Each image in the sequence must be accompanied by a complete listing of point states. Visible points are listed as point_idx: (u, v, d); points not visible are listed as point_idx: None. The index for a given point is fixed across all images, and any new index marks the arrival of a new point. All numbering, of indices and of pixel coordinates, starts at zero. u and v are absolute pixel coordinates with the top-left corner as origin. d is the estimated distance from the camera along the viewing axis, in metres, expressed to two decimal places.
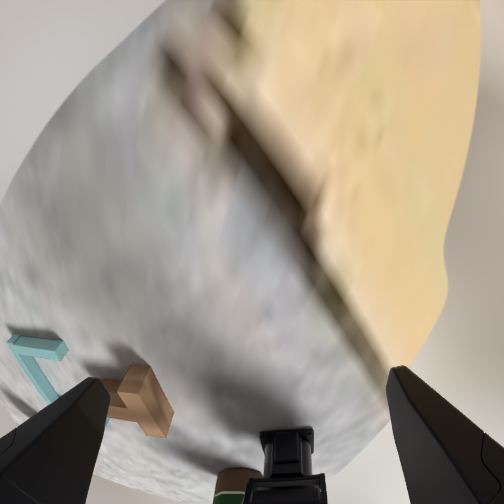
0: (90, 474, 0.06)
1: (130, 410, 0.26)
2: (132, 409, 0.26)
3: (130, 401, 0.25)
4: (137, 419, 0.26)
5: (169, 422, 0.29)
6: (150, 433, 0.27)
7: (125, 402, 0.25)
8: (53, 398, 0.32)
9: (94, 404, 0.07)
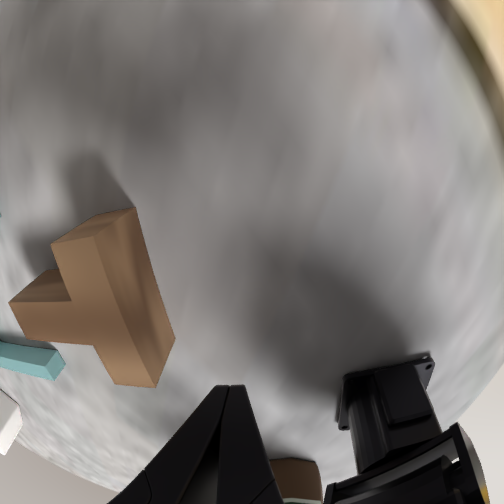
0: None
1: (77, 308, 0.12)
2: (80, 300, 0.11)
3: (76, 272, 0.11)
4: (92, 335, 0.12)
5: (165, 355, 0.15)
6: (122, 376, 0.13)
7: (66, 279, 0.11)
8: None
9: None
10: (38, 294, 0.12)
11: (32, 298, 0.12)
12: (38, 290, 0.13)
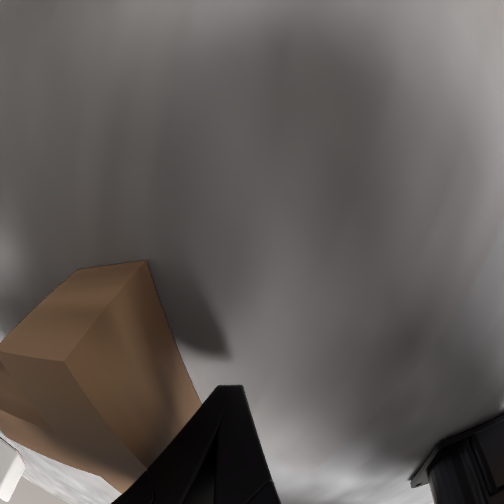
0: None
1: (65, 438, 0.06)
2: (67, 435, 0.05)
3: (49, 403, 0.05)
4: (98, 469, 0.06)
5: None
6: None
7: (36, 406, 0.05)
8: None
9: None
10: (6, 393, 0.06)
11: None
12: (6, 383, 0.07)
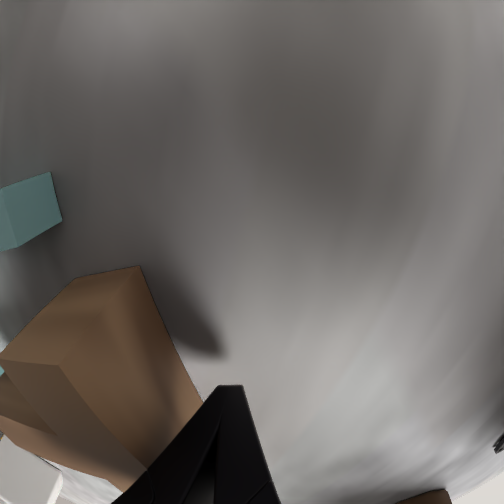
0: None
1: (69, 442, 0.06)
2: (71, 439, 0.05)
3: (50, 407, 0.05)
4: (103, 473, 0.06)
5: None
6: None
7: (39, 411, 0.05)
8: None
9: None
10: (12, 401, 0.07)
11: (6, 408, 0.06)
12: (13, 392, 0.07)
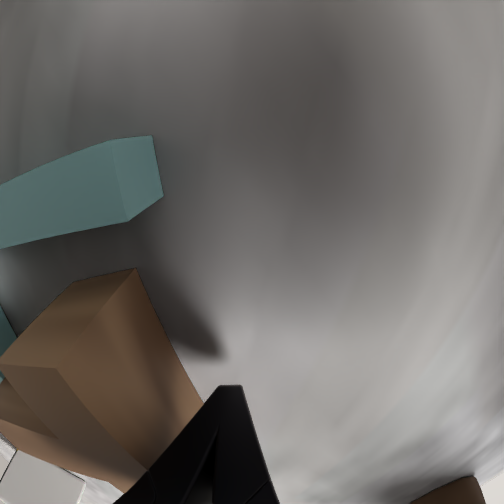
0: None
1: (71, 446, 0.06)
2: (71, 442, 0.05)
3: (50, 411, 0.05)
4: (105, 475, 0.06)
5: None
6: None
7: (39, 414, 0.05)
8: None
9: None
10: (14, 406, 0.07)
11: (7, 413, 0.06)
12: (14, 396, 0.07)
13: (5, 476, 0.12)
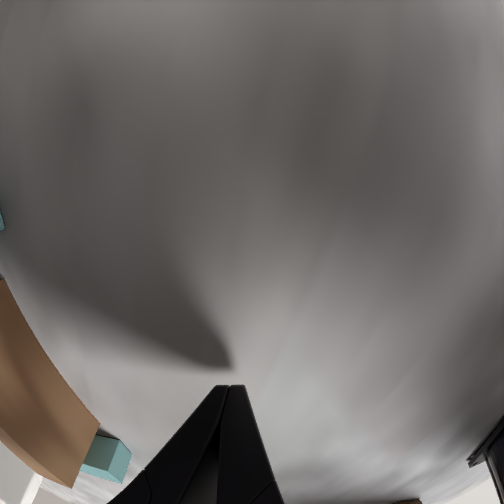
0: None
1: None
2: None
3: None
4: None
5: (83, 449, 0.09)
6: (38, 471, 0.07)
7: None
8: None
9: None
10: None
11: None
12: None
13: None
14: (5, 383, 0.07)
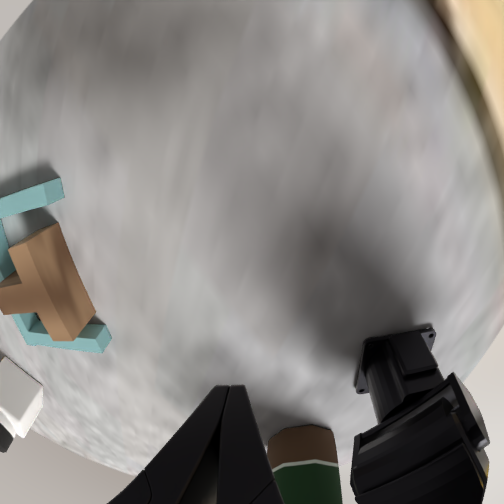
0: None
1: (26, 288, 0.17)
2: (26, 282, 0.17)
3: (21, 264, 0.16)
4: (35, 305, 0.17)
5: (84, 321, 0.20)
6: (55, 334, 0.18)
7: (17, 269, 0.16)
8: None
9: None
10: (7, 282, 0.18)
11: (4, 285, 0.17)
12: (8, 280, 0.18)
13: None
14: (53, 271, 0.18)
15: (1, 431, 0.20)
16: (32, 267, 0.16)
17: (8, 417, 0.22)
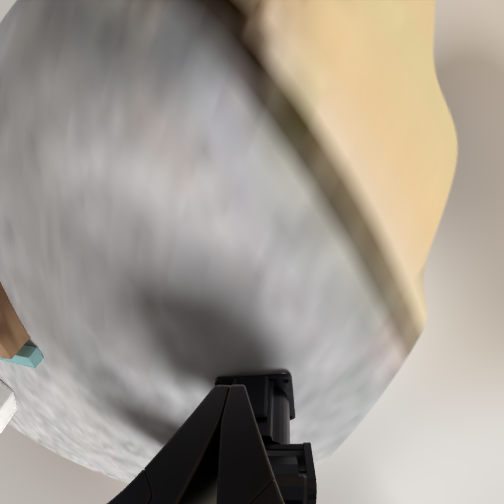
0: None
1: None
2: None
3: None
4: None
5: (20, 345, 0.23)
6: (1, 353, 0.21)
7: None
8: None
9: None
10: None
11: None
12: None
13: None
14: None
15: None
16: None
17: None
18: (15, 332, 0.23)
